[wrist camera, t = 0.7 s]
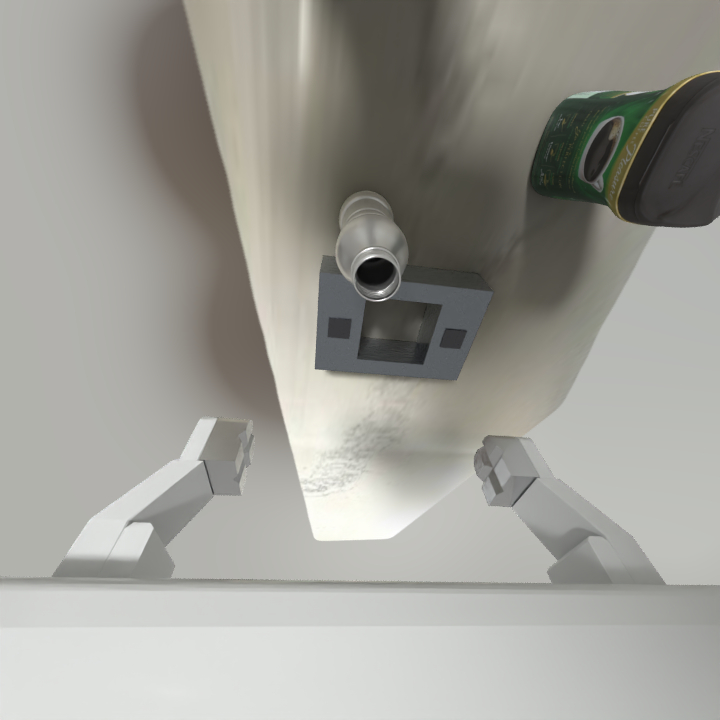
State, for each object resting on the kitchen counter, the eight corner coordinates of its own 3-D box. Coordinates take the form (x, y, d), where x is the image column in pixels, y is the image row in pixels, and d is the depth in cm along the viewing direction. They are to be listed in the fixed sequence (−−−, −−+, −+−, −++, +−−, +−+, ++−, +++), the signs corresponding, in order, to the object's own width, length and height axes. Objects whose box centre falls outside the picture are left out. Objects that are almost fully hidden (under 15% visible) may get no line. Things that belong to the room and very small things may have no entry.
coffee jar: (582, 196, 38) (730, 241, 23) (519, 194, 37) (631, 238, 23) (626, 93, 32) (864, 65, 17) (553, 88, 32) (732, 56, 17)
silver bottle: (363, 253, 41) (373, 333, 25) (328, 213, 38) (313, 275, 22) (401, 219, 39) (439, 284, 23) (367, 173, 36) (382, 211, 20)
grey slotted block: (323, 255, 41) (319, 272, 36) (478, 273, 43) (494, 292, 39) (318, 346, 50) (314, 369, 45) (446, 357, 52) (456, 381, 48)
